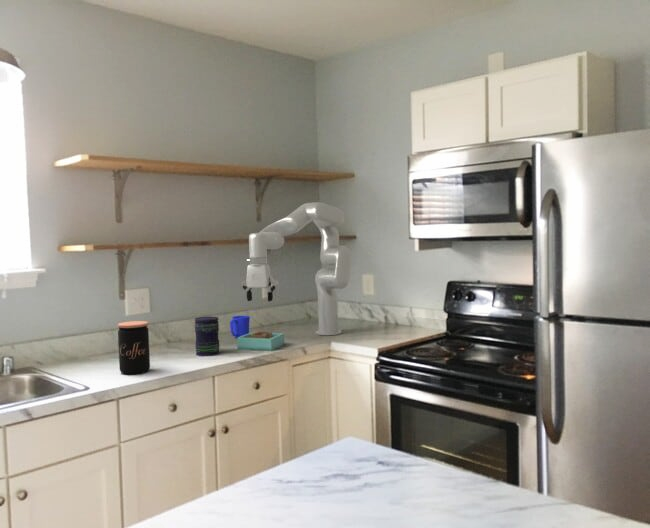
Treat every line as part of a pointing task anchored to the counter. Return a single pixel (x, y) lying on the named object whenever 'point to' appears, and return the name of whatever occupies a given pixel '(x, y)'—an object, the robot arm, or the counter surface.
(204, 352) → the storage jar
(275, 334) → the teal crate
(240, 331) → the mug
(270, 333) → the walnut crate
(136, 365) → the coffee jar
